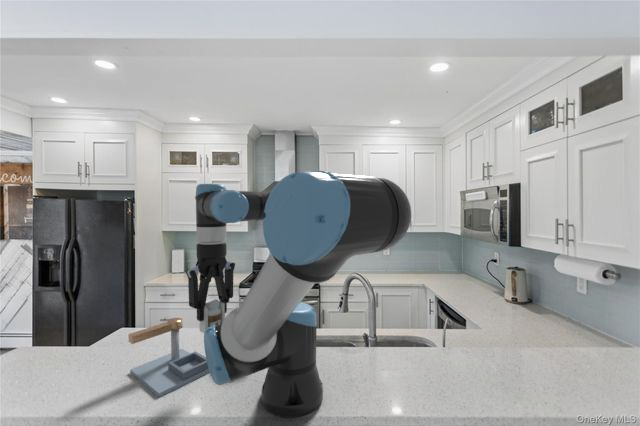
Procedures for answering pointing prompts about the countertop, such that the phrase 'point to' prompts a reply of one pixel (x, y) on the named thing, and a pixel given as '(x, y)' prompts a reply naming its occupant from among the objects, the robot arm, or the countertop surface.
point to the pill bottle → (213, 312)
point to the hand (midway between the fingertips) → (212, 328)
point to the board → (171, 369)
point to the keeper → (155, 330)
